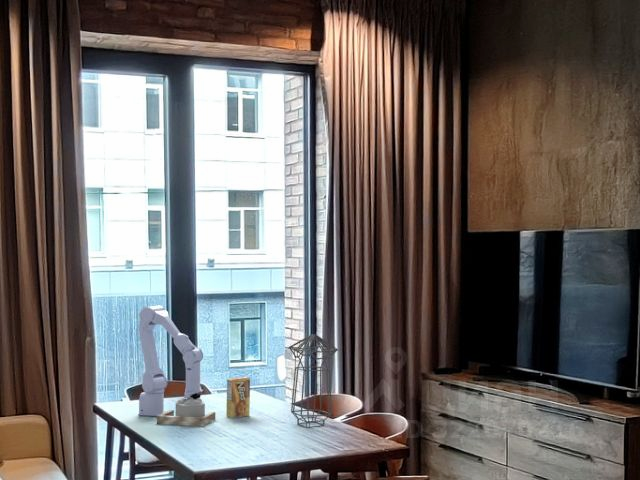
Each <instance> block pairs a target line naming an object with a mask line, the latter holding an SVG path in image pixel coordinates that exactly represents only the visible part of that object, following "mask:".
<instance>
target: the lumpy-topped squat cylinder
mask: <svg viewBox="0 0 640 480" xmlns="http://www.w3.org/2000/svg"><path fill="white" fill-rule="evenodd" d="M205 412H206V404H205V402H204V401H203V400H202V398H201V397H200V398H197V399H196V400H195V399H193V398H192V397H190V398H188V399H187V398H184V397H182V398H180V399H178V400H177V401H175V416H182V417H203V416H205V415H206V414H205Z"/></svg>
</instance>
